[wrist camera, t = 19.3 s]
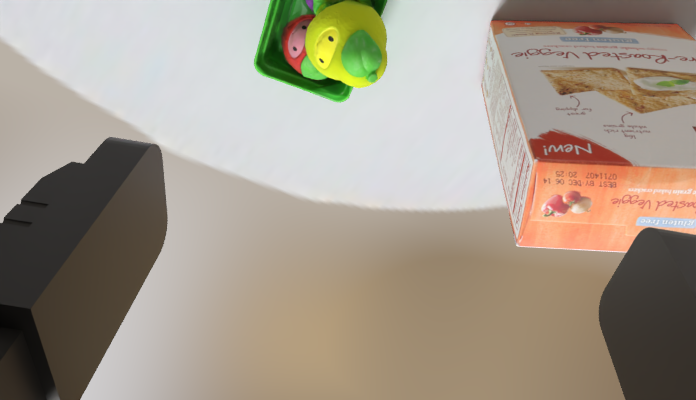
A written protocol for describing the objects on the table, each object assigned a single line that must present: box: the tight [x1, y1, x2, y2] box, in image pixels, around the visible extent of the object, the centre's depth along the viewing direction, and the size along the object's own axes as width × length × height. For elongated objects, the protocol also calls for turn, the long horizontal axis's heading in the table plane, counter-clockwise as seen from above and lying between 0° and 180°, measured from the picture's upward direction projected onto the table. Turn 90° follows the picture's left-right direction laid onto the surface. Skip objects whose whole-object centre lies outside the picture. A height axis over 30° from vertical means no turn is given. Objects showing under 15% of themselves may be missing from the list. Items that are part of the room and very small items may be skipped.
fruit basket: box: [254, 0, 387, 102], centre depth 39 cm, size 11×9×11 cm
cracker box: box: [482, 20, 696, 252], centre depth 35 cm, size 14×6×21 cm, turn 91°
